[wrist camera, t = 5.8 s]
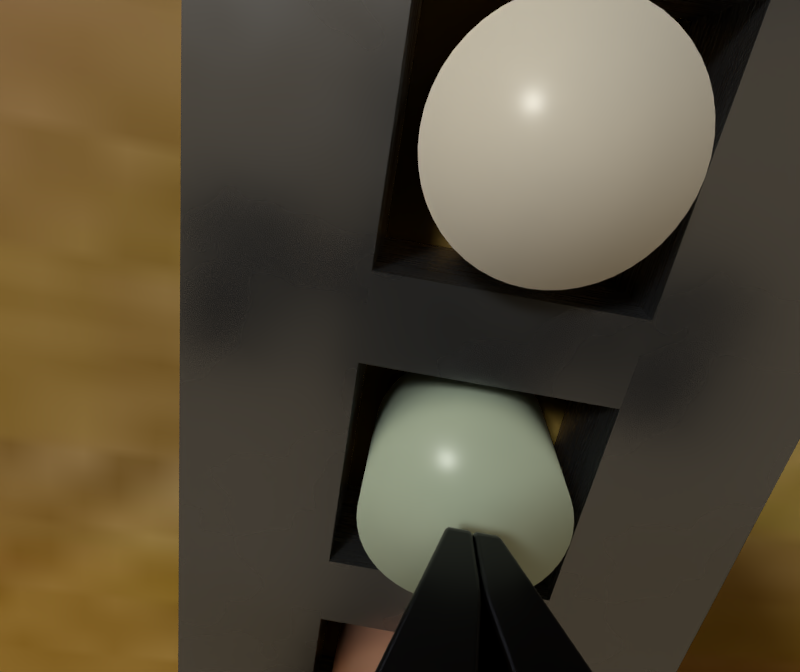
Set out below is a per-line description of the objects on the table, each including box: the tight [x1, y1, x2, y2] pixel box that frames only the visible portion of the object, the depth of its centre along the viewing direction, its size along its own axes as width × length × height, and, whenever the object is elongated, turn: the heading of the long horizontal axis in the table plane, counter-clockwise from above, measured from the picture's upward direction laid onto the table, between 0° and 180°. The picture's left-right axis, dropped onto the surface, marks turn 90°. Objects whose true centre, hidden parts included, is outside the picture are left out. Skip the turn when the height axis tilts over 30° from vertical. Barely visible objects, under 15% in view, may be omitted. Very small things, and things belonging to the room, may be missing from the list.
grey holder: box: [178, 0, 800, 672], centre depth 11 cm, size 10×19×2 cm, turn 171°
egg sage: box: [356, 372, 574, 593], centre depth 11 cm, size 4×4×3 cm
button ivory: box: [418, 0, 715, 290], centre depth 8 cm, size 4×4×3 cm
